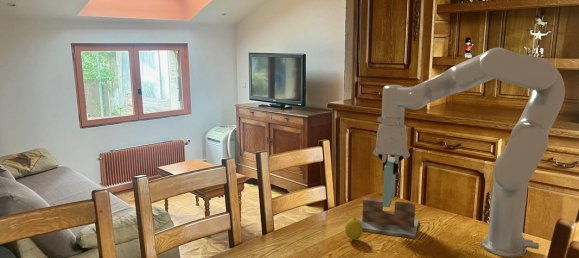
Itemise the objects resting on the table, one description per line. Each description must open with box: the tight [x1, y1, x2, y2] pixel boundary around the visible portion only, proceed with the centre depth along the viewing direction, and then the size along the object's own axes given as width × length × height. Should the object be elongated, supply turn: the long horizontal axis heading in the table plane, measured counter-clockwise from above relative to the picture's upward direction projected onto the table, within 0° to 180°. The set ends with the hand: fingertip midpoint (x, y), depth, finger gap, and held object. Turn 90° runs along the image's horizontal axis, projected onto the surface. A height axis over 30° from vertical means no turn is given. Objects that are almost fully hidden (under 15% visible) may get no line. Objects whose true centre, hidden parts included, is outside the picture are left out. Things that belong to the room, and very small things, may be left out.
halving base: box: [358, 197, 419, 239], centre depth 154 cm, size 20×15×9 cm
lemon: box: [345, 217, 363, 241], centre depth 142 cm, size 6×6×8 cm
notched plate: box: [382, 156, 397, 208], centre depth 152 cm, size 14×2×14 cm, turn 160°
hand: (390, 172), depth 151 cm, fingers closed on notched plate, 2 cm apart
